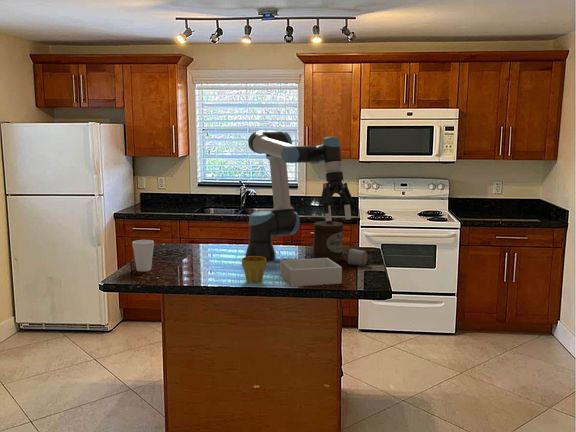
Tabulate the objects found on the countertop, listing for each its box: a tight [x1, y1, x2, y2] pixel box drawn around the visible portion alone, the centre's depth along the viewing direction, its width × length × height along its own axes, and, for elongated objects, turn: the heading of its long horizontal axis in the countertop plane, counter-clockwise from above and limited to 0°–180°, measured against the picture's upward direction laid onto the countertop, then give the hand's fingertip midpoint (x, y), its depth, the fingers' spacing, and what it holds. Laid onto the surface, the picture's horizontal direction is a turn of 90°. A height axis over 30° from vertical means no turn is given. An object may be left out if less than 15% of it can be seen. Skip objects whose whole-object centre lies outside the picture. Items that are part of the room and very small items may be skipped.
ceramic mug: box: [347, 248, 368, 267], centre depth 262 cm, size 11×8×8 cm
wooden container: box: [312, 216, 344, 263], centre depth 273 cm, size 15×15×22 cm
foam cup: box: [132, 239, 155, 272], centre depth 246 cm, size 10×9×13 cm
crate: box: [279, 258, 343, 287], centre depth 233 cm, size 18×22×7 cm
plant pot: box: [241, 256, 267, 284], centre depth 229 cm, size 10×10×10 cm
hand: (338, 220), depth 238 cm, fingers open, 13 cm apart
